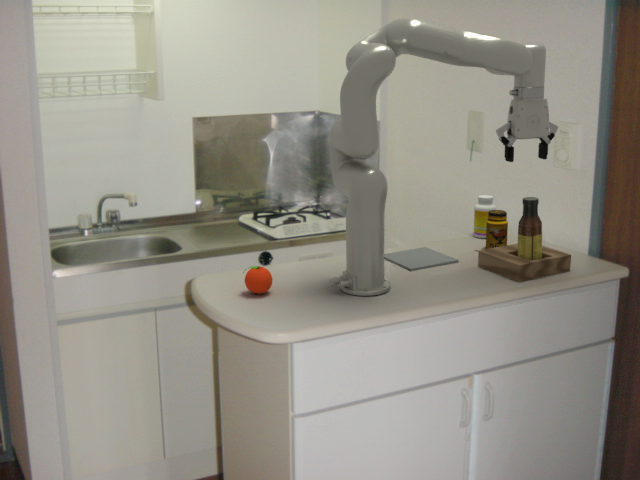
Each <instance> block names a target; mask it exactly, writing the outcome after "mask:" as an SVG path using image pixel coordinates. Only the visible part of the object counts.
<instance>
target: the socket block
mask: <svg viewBox="0 0 640 480" xmlns="http://www.w3.org/2000/svg"><path fill="white" fill-rule="evenodd" d="M477 257H478V259H477V266H478V267H479V268H481V269H484V270H487V271H489V272H492V273H495V274H496V275H499V276H502V277H504V278H506V279H507V278H508V279H509V280H512V281H514V282H517V283H521V282H525V281H530V280H535V279H538V278H543V277H544V278H545V277H549V276H553V275H557V274H562V273H567V272H568V273H569V272H571V267H572V266H571V264H572V263H571V262H572V254H571V253H566V252H564V251H560V250H558V249H554V248H551V247H548V246H545V245H542V259H537V260H532V261H529V260H526V259H523V258H520V257H518V242H517V243H513V244H507V245H506V246H501V247H496V248H490V249H485V250H479V251H478V256H477Z"/></svg>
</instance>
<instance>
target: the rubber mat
mask: <svg viewBox="0 0 640 480" xmlns="http://www.w3.org/2000/svg"><path fill="white" fill-rule="evenodd" d="M385 260H386V261H388V262H391V263H392V264H394V265H397V266H399V267H401V268H403V269H405V270H408V271H410V272H412V271H419V270H424V269H429V268H434V267H439V266H446V265H451V264H455V263H459V259H457V258H454V257H451V256H449V255H447V254H446V253H441V252H440V251H436V250H434V249H431V248H429V247H426V246H423V247H416V248H411V249H406V250H400V251H394V252H389V253H388V252H387V253H384V261H385Z"/></svg>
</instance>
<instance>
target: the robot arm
mask: <svg viewBox="0 0 640 480" xmlns="http://www.w3.org/2000/svg"><path fill="white" fill-rule="evenodd" d="M401 55H410V56H415V57H419V58H422V59H427V60H431V61H435V62H439V63H444V64H447V65H452V66H458V67H469V68H471V67H472V68H480V69H485V70H486V71H487V72H488V73H489V74H492V75H498V76H512V77H513V76H514V78H513V88H512V89H510V90H509V92H508V93H509V96H512V97H513V99H512V98H511V100H510V104H509V107H508V108H509V109H508V114H507V123H505V124H503V125H502V126H500V127H498V128H497V129H496V130H495V133H496V135H497V137H498V140H499V141H500V142H501V143H502V145H503V146H504V161H506V162H509V163H513V162H514V161H515V160H514V159H515V158H514V157H515V156H514V155H515V147H514V143H516V141H517V140H530V139H531V140H532V139H538V140H539V141H540V142H539V143H538V150H537V151H538V152H537V155H538V156H537V158H538V159H541V160H547V159H548V154H549V145H550V144H551V141H552V140H553V139H554V138H555V136H556V135H555V134H556V133H557V131H558V129H559V126H558V125H556V124H554V123H553V122H551V121H550V111H549V103H548V98H545V81H546V79H545V78H546V58H547V56H546V55H547V48H546V46H545V45H544V44H541V43H525V44H523V43H519V42H515V41H512V40H509V39H505V38H501V37H495V36H489V35H485V34H480V33H476V32H473V31H470V30H465V29H460V28H456V27H452V26H447V25H444V24H440V23H436V22H433V21H429V20H425V19H421V18H418V17H408V18H397V19H393V20H392V21H390V22H388V23H386V25H384V26H382V27H380V28H379V29H377V30H376V31H373V33H370V34H369V35H368V36H366V37H365V38H363V39H362V40H360V41H358V42H357V43H355V44H354V45H353V46H351V48H350V49H349V50H348V52H347V54H346V57H345V66H346V69H347V73H346V75H345V76H344V79H343V82H342V84H341V88H340V92H339V105H340V118H339V119H337V120H335V122H334V123H332V124H333V125H332V126H331V128H330V130H329V136H328V148H329V149H328V150H329V157H330V158H329V159H330V168H331V169H330V170H331V177H332V181H333V184H334V187H335V188H336V190H337V191H338V192H339V193H340V194H341V195H343V196H345V197H347V198H348V202H347V207H346V213H345V244H346V245H345V246H346V247H345V254H346V255H345V257H346V261H345V262H346V265H345V266H346V269H345V270H343V271H342V275H341V274H340V276H335V277H331V278H329V279H328V283H329V286H331V287H333V286H339V287H340V290H341V292H343V293H345V294H348V295H352V296H361V297H369V296H370V297H371V296H378V295H382V294H385V293H387V292H389V291H390V290H391V282H390V281H389V280H388V279H385V259H384V254H385V210H386V203H387V196H388V189H389V188H388V185H389V184H388V181H387V178H386V176H385V174H384V173H383V171H382V170H380V169H379V168H378V167H376V166H375V165H372V164H369V163H367V160H368V159H370V158H372V157H373V156H375V155H376V153H377V151H378V149H379V146H380V136H379V125H378V115H377V94H378V91H379V89H380V87H381V85H382V84H383V83H384V81H385V80H386V79H387V78H388V77H389V76H390V75H391V74H392V73H393V71H394V70H395V67H396V65H397V58H398V57H399V56H401ZM505 132H506V135H507V137H506V136H505Z"/></svg>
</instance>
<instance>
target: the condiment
mask: <svg viewBox="0 0 640 480" xmlns="http://www.w3.org/2000/svg"><path fill="white" fill-rule="evenodd" d="M488 214H489V215H488V220H487V225H486V239H485V246H483V247H480V248H476V249H475V251H478V252H479V250H485V249H490V248H496V247H501V246H506V245H508V230H509V226H508V223H509V222H508V220H507V219H508V218H507V217H508V216H507V215H508V212H507V211H506V210H502V209H496V210H491V211H489V212H488Z"/></svg>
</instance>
